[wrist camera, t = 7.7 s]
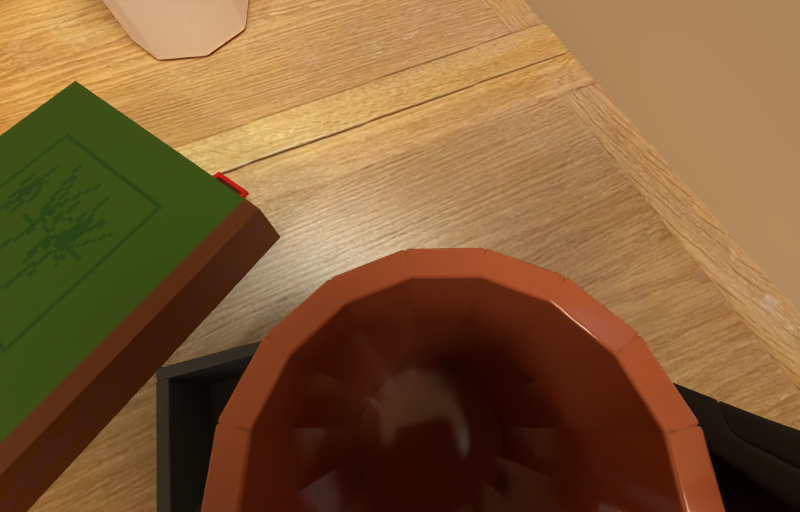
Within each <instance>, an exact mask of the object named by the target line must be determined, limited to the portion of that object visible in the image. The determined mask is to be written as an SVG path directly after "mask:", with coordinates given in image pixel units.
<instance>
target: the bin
mask: <svg viewBox="0 0 800 512" xmlns="http://www.w3.org/2000/svg"><path fill="white" fill-rule="evenodd" d="M260 343H261V341H260V342H256V343H252V344H248V345H245V346H241V347H237V348H233V349H230V350H226V351H222V352H218V353H215V354H211V355H207V356H203V357H200V358H196V359H192V360H188V361H184V362H181V363H177V364H173V365H169V366H166V367H162V368H158V369H157V382H156V390H157V512H195V510H196V509H197V508H198V506H199V505H200V504H201V503H202V501H203V497H204V492H205V486H206V480H207V475H208V469H209V464H210V458H211V452H212V447H213V441H214V436H215V430H216V426H217V424H219V422H218V419H219V417H220V415H221V414H222V412H223V410H224V408H225V406H226V405H227V403H228V401H229V399H230V397H231V396H232V394H233V392H234V390H235V388H236V387H237V385H238V383H239V381H240V379H241V377H242V376H243V374H244V372H245V370H246V368H247V367H248V365H249V363H250V361H251V359H252V358H253V356H254V354H255V352H256V350H257V349H258V347H259V345H260Z"/></svg>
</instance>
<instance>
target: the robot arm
mask: <svg viewBox="0 0 800 512" xmlns="http://www.w3.org/2000/svg"><path fill="white" fill-rule="evenodd" d="M673 384H674V386H675V387H676V389H677V390H678V392H679V393H680V395H681V396H682V398H683V399H684V401H685V402H686V404H687V405H688V407H689V408H690V410H691V411H692V412H693V414H694V415H695V417H696V418H697V420H698V423H699V424H698V425H697V426H700V427H701V429H702V431H703V434H704V438H705V441H706V445H707V448H708V452H709V455H710V459H711V462H712V466H713V469H714V473H715V477H716V480H717V484H718V487H719V491H720V494H721V498H722V501H723V505H724V508H725V512H800V430H797V429H794V428H791V427H788V426H785V425H782V424H779V423H776V422H774V421H771V420H768V419H766V418H763V417H760V416H758V415H755V414H752V413H750V412H747V411H744V410H742V409H739V408H737V407H734V406H731V405H729V404H726V403H724V402H717V400H716V399H713V398H711V397H708V396H706V395H703V394H700V393H698V392H695V391H693V390H690V389H688V388H685V387H683V386H680V385H677V384H675V383H673ZM202 503H203V501H202ZM202 503H201V504H200V505H199V506H198V508H197V509H196V510H195V512H201V508H202Z"/></svg>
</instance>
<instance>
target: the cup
mask: <svg viewBox="0 0 800 512" xmlns="http://www.w3.org/2000/svg"><path fill="white" fill-rule="evenodd" d="M103 2H104V3H105V4H106V6H107V7H108V8H109V10H110V11H111V12H112V14H113V15H114V16H115V18H116V19H117V20H118V22H119V23H120V24H121V26H122V27H123V28H124V30H125V31H126V32H127V34H128V35H129V37H130V38H131V39H132V40H133V41H134V42H136V43H137V44H138V45H140V46H141V47H142V48H143V49H145V50H146V51H147V52H149V53H150V54H151V55H153V56H154V57H155V58H156V59H160V60H161V59H173V58H184V57H196V56H206V55H209V54H210V53H212V52H213V51H214V50H216V49H217V48H219V47H220V46H221V45H223V44H224V43H226V42H227V41H228V40H230V39H231V38H233V37H234V36H236V35H237V34H238V33H240V32H241V31H243V30H244V28H245V26H246V18H247V10H248V3H249V0H103Z"/></svg>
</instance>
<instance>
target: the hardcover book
mask: <svg viewBox="0 0 800 512" xmlns="http://www.w3.org/2000/svg"><path fill="white" fill-rule="evenodd" d="M248 194H249V193H248V192H247V191H246V190H245V189H243V188H242V187H240V186H239V185H237V184H236V183H234V182H233V181H231V180H230V179H229V178H227V177H226V176H224V175H223V174H221V173H220V172H218V173H216V174H215V175H214V176H211V175H210V174H208V173H207V172H206V171H204V170H203V169H201V168H200V167H198V166H197V165H196V164H194V163H193V162H191V161H190V160H188V159H187V158H185V157H184V156H183V155H181V154H180V153H178V152H177V151H175V150H174V149H173V148H171V147H170V146H168V145H167V144H165V143H164V142H162V141H161V140H160V139H158V138H157V137H155V136H154V135H152V134H151V133H150V132H148V131H147V130H145V129H144V128H142V127H141V126H139V125H138V124H137V123H135V122H134V121H132V120H131V119H129V118H128V117H127V116H125V115H124V114H122V113H121V112H119V111H118V110H116V109H115V108H114V107H112V106H111V105H109V104H108V103H106V102H105V101H104V100H102V99H101V98H99V97H98V96H96V95H95V94H93V93H92V92H91V91H89V90H88V89H86V88H85V87H83V86H82V85H81V84H79V83H78V82H76V81H74V82H73V83H72V84H70V85H69V86H68V87H66V88H65V89H64V90H62V91H61V92H59V93H58V94H57V95H55V96H54V97H53V98H51V99H50V100H48V101H47V102H46V103H44V104H43V105H42V106H40V107H39V108H38V109H36V110H35V111H33V112H32V113H31V114H29V115H28V116H27V117H25V118H24V119H23V120H21V121H20V122H18V123H17V124H16V125H14V126H13V127H12V128H10V129H9V130H8V131H6V132H5V133H3V134H2V135H1V136H0V512H26V511H27V510H28V509H29V508H30V507H31V506H32V505H33V504H34V503H35V502H36V501H37V499H38V498H39V497H40V496H41V495H42V494H43V493H44V492H45V491H46V490H47V489H48V488H49V486H50V485H51V484H52V483H53V482H54V481H55V480H56V479H57V478H58V477H59V476H60V475H61V474H62V472H63V471H64V470H65V469H66V468H67V467H68V466H69V465H70V464H71V463H72V462H73V461H74V459H75V458H76V457H77V456H78V455H79V454H80V453H81V452H82V451H83V450H84V449H85V448H86V446H87V445H88V444H89V443H90V442H91V441H92V440H93V439H94V438H95V437H96V436H97V435H98V433H99V432H100V431H101V430H102V429H103V428H104V427H105V426H106V425H107V424H108V423H109V422H110V420H111V419H112V418H113V417H114V416H115V415H116V414H117V413H118V412H119V411H120V410H121V409H122V408H123V406H124V405H125V404H126V403H127V402H128V401H129V400H130V399H131V398H132V397H133V396H134V395H135V393H136V392H137V391H138V390H139V389H140V388H141V387H142V386H143V385H144V384H145V383H146V382H147V380H148V379H149V378H150V377H151V376H152V375H153V374H154V373H155V372H156V371H157V369H158V368H159V367H160V366H161V365H162V364H163V363H164V362H165V361H166V360H167V359H168V358H169V357H170V356H171V354H172V353H173V352H174V351H175V350H176V349H177V348H178V347H179V346H180V345H181V344H182V343H183V341H184V340H185V339H186V338H187V337H188V336H189V335H190V334H191V333H192V332H193V331H194V330H195V329H196V327H197V326H198V325H199V324H200V323H201V322H202V321H203V320H204V319H205V318H206V317H207V316H208V314H209V313H210V312H211V311H212V310H213V309H214V308H215V307H216V306H217V305H218V304H219V303H220V301H221V300H222V299H223V298H224V297H225V296H226V295H227V294H228V293H229V292H230V291H231V290H232V288H233V287H234V286H235V285H236V284H237V283H238V282H239V281H240V280H241V279H242V278H243V277H244V275H245V274H246V273H247V272H248V271H249V270H250V269H251V268H252V267H253V266H254V265H255V264H256V263H257V261H258V260H259V259H260V258H261V257H262V256H263V255H264V254H265V253H266V252H267V251H268V250H269V248H270V247H271V246H272V245H273V244H274V243H275V242H276V241H277V240H278V239H279V238H280V236H279V235H278V233H277V232H276V231H275V229H274V228H273V226H272V225H271V224H270V222H269V221H268V220H267V218H266V217H265V216H264V214H263V213H262V212H261V210H260V209H259V208H257V207H256V206H254V205H253V204H252V203H250V202H249V201H247V200H246V199H244V198H245V197H246V196H247V195H248Z"/></svg>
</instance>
